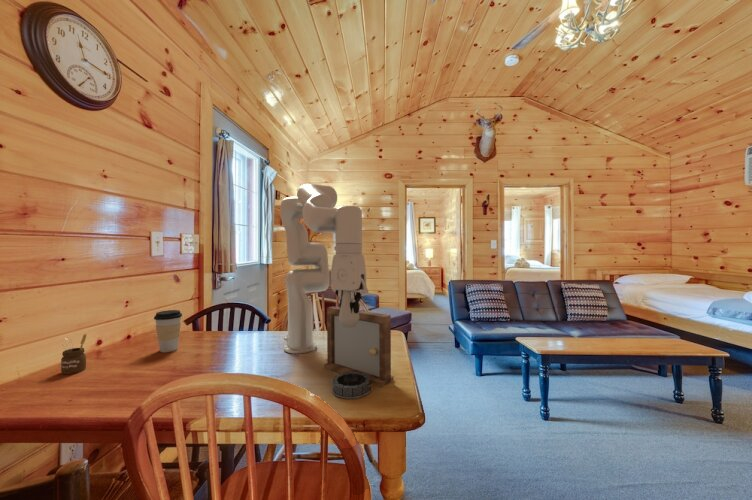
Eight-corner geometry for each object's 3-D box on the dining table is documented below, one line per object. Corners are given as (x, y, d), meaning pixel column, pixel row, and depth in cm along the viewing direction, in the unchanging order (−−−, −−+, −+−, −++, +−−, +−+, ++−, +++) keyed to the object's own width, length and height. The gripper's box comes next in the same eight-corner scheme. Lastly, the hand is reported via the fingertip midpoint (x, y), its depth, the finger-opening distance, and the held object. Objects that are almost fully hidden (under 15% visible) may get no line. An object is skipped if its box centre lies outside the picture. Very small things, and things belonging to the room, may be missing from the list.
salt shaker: (356, 328, 85) (355, 281, 85) (336, 327, 86) (335, 280, 86) (361, 323, 91) (361, 278, 90) (342, 322, 92) (342, 278, 92)
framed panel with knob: (324, 367, 104) (323, 308, 104) (336, 362, 109) (336, 305, 109) (382, 387, 90) (381, 318, 90) (393, 380, 95) (393, 314, 94)
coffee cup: (172, 353, 119) (172, 314, 118) (148, 353, 119) (147, 314, 119) (187, 346, 128) (187, 309, 128) (165, 346, 128) (164, 309, 128)
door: (331, 364, 103) (331, 316, 103) (337, 361, 106) (337, 314, 106) (377, 379, 92) (377, 324, 92) (383, 375, 94) (383, 322, 94)
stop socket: (323, 391, 87) (323, 381, 87) (349, 378, 96) (349, 368, 96) (353, 403, 81) (353, 392, 81) (378, 387, 89) (378, 377, 89)
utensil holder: (69, 368, 105) (68, 333, 104) (91, 366, 106) (91, 331, 106) (55, 375, 99) (55, 338, 99) (79, 373, 100) (79, 336, 100)
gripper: (319, 250, 90) (319, 313, 90) (362, 250, 80) (362, 321, 80) (337, 249, 96) (337, 309, 96) (379, 249, 86) (380, 316, 86)
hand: (349, 314), depth 88 cm, fingers closed on salt shaker, 3 cm apart
